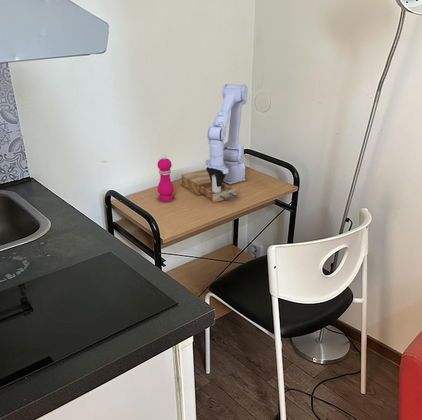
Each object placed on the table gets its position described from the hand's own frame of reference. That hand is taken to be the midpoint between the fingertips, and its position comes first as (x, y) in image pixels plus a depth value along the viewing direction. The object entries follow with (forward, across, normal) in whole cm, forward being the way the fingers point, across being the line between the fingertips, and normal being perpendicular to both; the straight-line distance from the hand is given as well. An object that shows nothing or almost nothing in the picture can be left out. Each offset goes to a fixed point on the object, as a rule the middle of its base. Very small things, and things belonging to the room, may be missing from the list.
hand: (216, 184), depth 192 cm
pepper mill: (+6, -9, -20) cm, 23 cm away
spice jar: (+3, 0, 0) cm, 3 cm away
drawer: (+4, +2, 0) cm, 5 cm away
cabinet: (+5, -12, 0) cm, 13 cm away
